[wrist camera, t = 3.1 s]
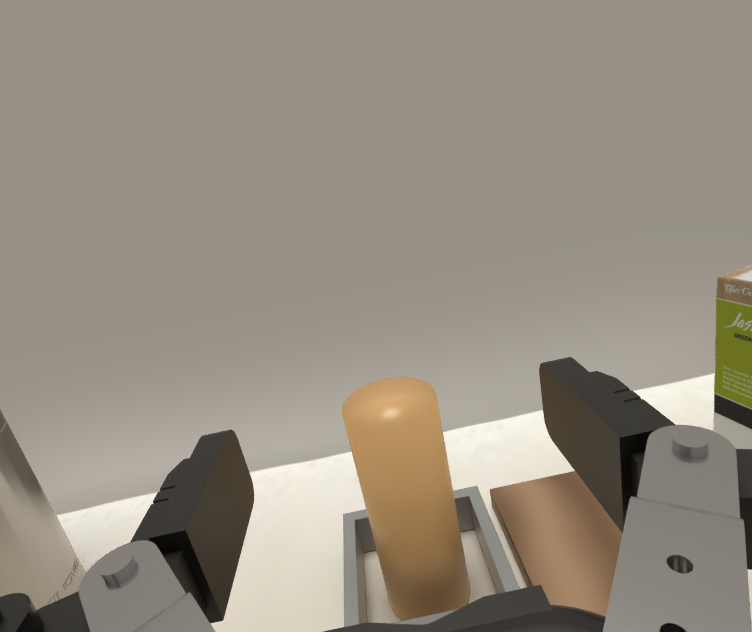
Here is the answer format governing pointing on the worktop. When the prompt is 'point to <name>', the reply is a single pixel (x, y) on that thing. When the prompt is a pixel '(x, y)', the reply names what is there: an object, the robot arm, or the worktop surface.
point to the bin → (362, 540)
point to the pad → (560, 539)
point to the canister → (408, 495)
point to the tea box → (734, 358)
